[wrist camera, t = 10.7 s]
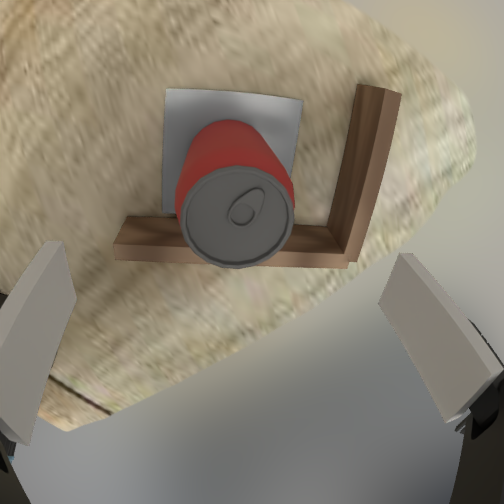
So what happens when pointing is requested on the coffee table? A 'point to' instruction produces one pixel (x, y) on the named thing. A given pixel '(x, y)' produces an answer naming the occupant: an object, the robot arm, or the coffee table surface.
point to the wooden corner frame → (302, 236)
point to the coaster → (217, 109)
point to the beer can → (234, 197)
